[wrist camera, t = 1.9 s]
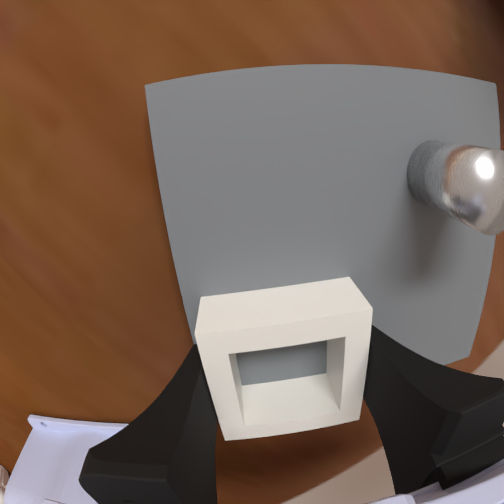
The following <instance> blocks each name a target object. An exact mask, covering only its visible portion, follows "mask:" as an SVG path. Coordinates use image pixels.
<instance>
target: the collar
mask: <svg viewBox="0 0 504 504" xmlns="http://www.w3.org/2000/svg"><path fill="white" fill-rule="evenodd" d="M372 313H373V308H372V307H371V305H370V304H369V302H368V301H367V300H366V298H365V297H364V296H363V294H362V293H361V292H360V290H359V289H358V288H357V286H356V285H355V284H354V282H353V281H352V280H351V278H350V277H344V278H338V279H331V280H325V281H318V282H311V283H304V284H297V285H290V286H283V287H276V288H268V289H261V290H253V291H245V292H237V293H229V294H221V295H213V296H204V297H201V298H200V304H199V310H198V316H197V322H196V328H195V338H196V342H197V346H198V350H199V353H200V357H201V361H202V365H203V368H204V372H205V375H206V379H207V383H208V386H209V390H210V393H211V397H212V400H213V403H214V407H215V410H216V413H217V417H218V420H219V423H220V426H221V429H222V433H223V436H224V439H225V441H227V440H239V439H249V438H258V437H267V436H274V435H282V434H288V433H295V432H301V431H307V430H312V429H318V428H323V427H328V426H333V425H338V424H342V423H347V422H351V421H355V420H359V417H360V411H361V405H362V399H363V393H364V386H365V379H366V371H367V363H368V355H369V346H370V336H371V325H372ZM324 340H327V368H326V373H324V374H318V375H313V376H307V377H301V378H295V379H288V380H282V381H275V382H267V383H260V384H251V385H243V386H242V384H241V379H240V374H239V368H238V363H237V358H236V353H241V352H249V351H257V350H265V349H272V348H280V347H286V346H293V345H299V344H306V343H312V342H318V341H324Z"/></svg>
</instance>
